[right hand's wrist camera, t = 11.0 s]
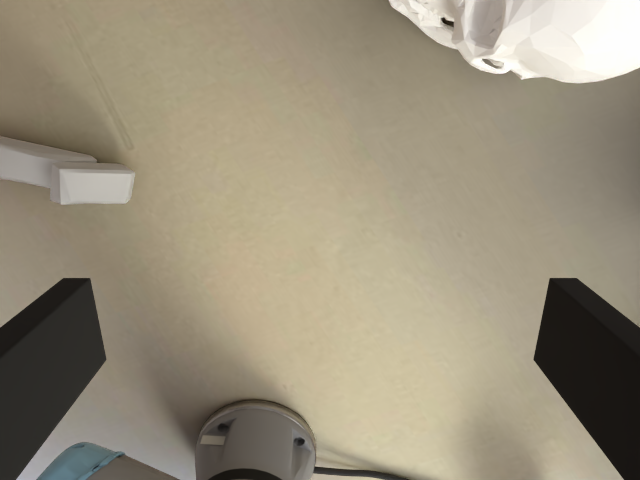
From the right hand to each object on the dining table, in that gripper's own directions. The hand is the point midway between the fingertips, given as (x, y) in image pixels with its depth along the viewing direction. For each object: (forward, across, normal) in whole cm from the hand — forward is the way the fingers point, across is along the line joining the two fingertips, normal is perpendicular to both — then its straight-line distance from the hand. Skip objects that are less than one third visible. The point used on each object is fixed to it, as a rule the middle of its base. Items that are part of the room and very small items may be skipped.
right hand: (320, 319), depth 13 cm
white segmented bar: (+33, -28, -1) cm, 44 cm away
